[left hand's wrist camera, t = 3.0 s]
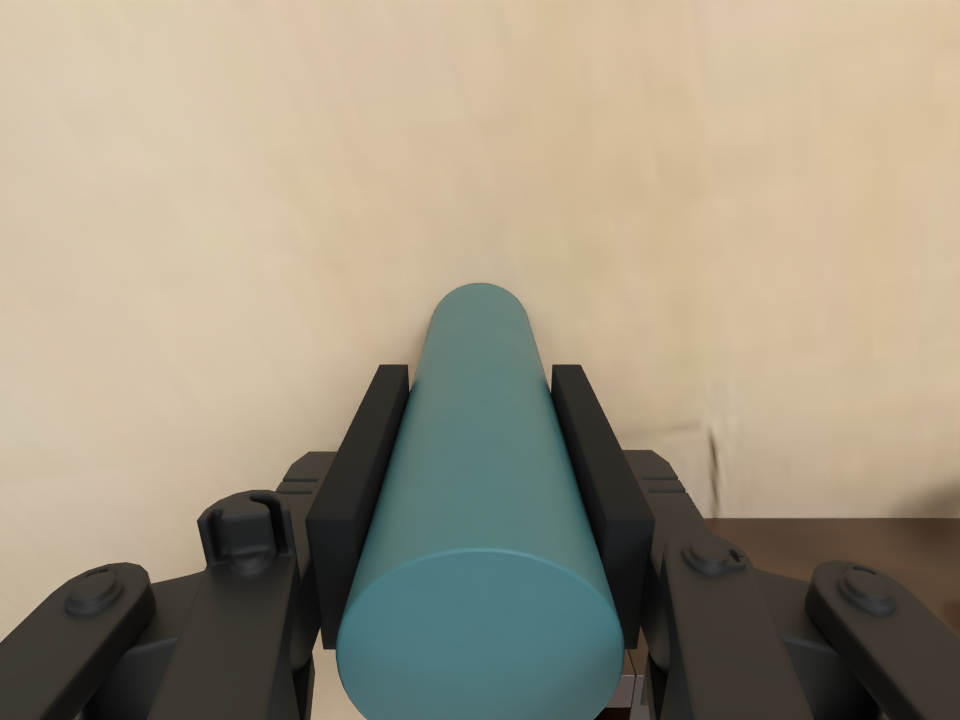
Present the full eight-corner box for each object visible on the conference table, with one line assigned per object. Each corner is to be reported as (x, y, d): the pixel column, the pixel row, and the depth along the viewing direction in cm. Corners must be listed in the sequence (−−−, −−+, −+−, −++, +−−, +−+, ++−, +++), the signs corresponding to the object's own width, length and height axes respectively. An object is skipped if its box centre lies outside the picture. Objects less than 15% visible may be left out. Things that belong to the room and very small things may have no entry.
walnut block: (432, 645, 27) (415, 828, 20) (427, 518, 24) (403, 676, 17) (971, 645, 27) (1156, 828, 20) (1029, 518, 25) (1269, 675, 17)
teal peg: (415, 353, 22) (296, 714, 8) (455, 265, 20) (399, 504, 6) (503, 391, 22) (542, 790, 8) (547, 308, 21) (683, 611, 7)
